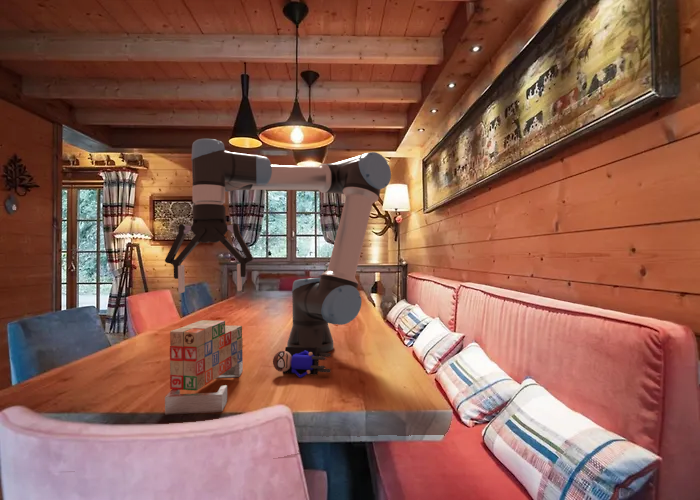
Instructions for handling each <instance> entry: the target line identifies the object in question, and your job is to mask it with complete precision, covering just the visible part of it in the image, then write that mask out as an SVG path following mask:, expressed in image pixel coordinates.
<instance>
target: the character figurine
mask: <svg viewBox="0 0 700 500" xmlns="http://www.w3.org/2000/svg"><path fill="white" fill-rule="evenodd" d="M284 349H285V350H280V351H277V352H276V354H275V355H274V356H273V358H272V366H273V367H274V369H275V370H276V371H277V372H282V374H292V375H296V376H297V377H298V378H299V379H301V378H303V377H305V376H306V375H307V376H308V375H310V376H318V375H319V373H326V374H327V373H331V371H332V369H331V368H326V366H325V365H319V362H320V361H326V359H327V358H330V357H332V356H331V353H330V352H325V353H319V351H320V348H318V347H315V348H300V347H287V346H285V348H284ZM326 357H327V358H326Z"/></svg>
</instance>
